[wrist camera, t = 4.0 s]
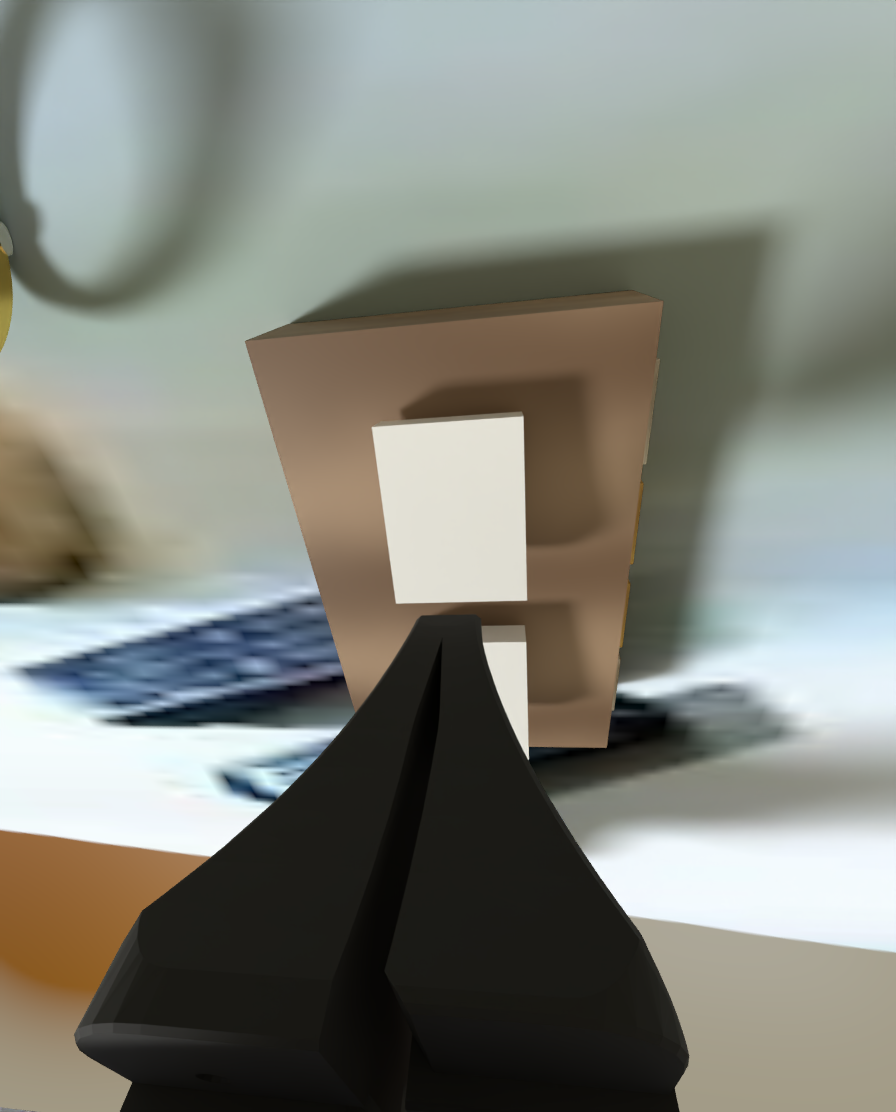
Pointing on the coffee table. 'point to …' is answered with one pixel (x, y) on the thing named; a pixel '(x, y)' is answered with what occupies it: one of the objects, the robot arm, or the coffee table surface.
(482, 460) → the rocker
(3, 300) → the ring
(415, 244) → the coffee table surface
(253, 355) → the switch box
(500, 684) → the block
